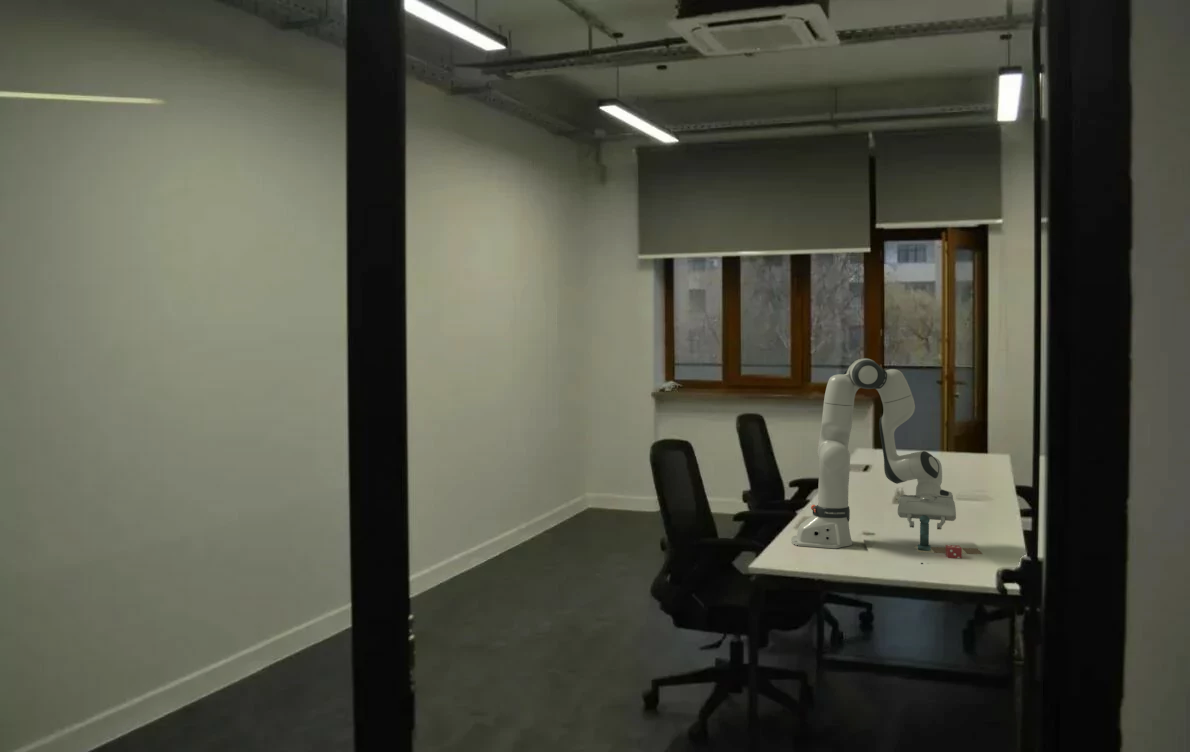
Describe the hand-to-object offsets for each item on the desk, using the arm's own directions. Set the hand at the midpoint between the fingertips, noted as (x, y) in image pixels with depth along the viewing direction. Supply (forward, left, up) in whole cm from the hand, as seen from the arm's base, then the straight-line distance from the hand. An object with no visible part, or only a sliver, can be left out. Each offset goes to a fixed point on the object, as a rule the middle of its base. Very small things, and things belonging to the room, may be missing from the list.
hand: (925, 527), depth 347 cm
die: (+8, -11, -9) cm, 16 cm away
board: (+8, -1, -9) cm, 12 cm away
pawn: (0, -1, -8) cm, 8 cm away
